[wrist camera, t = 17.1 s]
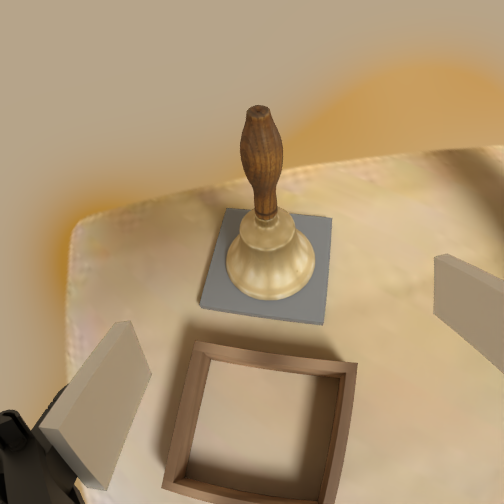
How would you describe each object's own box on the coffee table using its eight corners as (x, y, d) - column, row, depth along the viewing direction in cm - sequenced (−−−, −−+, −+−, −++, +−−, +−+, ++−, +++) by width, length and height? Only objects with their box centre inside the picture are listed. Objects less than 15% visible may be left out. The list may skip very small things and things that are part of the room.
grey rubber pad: (331, 222, 32) (332, 218, 31) (322, 325, 26) (323, 322, 26) (227, 212, 34) (226, 208, 33) (201, 308, 28) (199, 305, 28)
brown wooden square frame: (350, 369, 24) (357, 362, 21) (325, 509, 18) (330, 519, 15) (204, 349, 26) (195, 340, 24) (174, 482, 20) (161, 488, 18)
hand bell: (246, 214, 32) (220, 74, 19) (325, 236, 30) (344, 90, 16) (211, 284, 29) (149, 150, 15) (298, 313, 26) (310, 181, 13)
